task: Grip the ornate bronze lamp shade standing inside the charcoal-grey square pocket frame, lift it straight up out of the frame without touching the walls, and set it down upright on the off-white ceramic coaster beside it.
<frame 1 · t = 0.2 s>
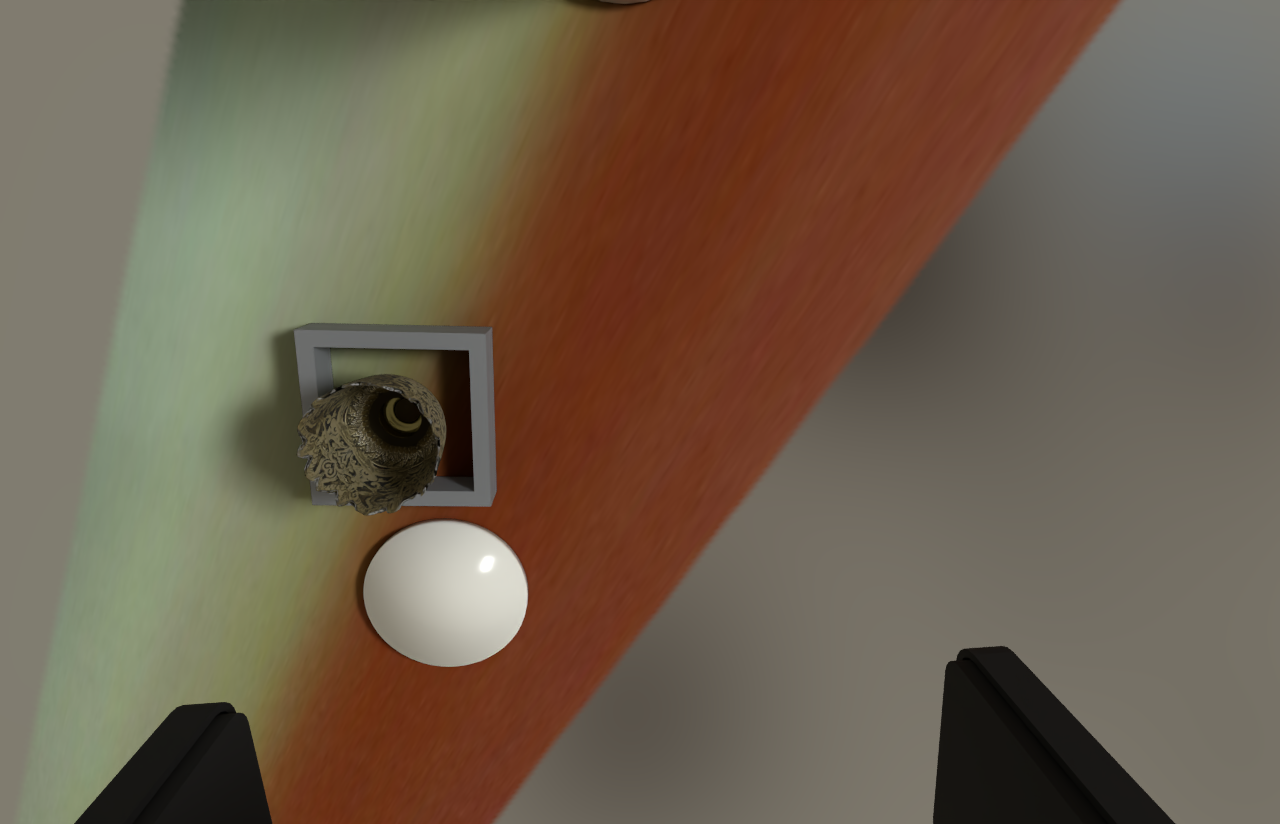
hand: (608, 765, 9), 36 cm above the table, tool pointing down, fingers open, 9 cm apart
pocket frame: (407, 410, 45), on the table
ornate bronze lamp shade: (408, 409, 45), on the table
coaster: (448, 591, 49), on the table
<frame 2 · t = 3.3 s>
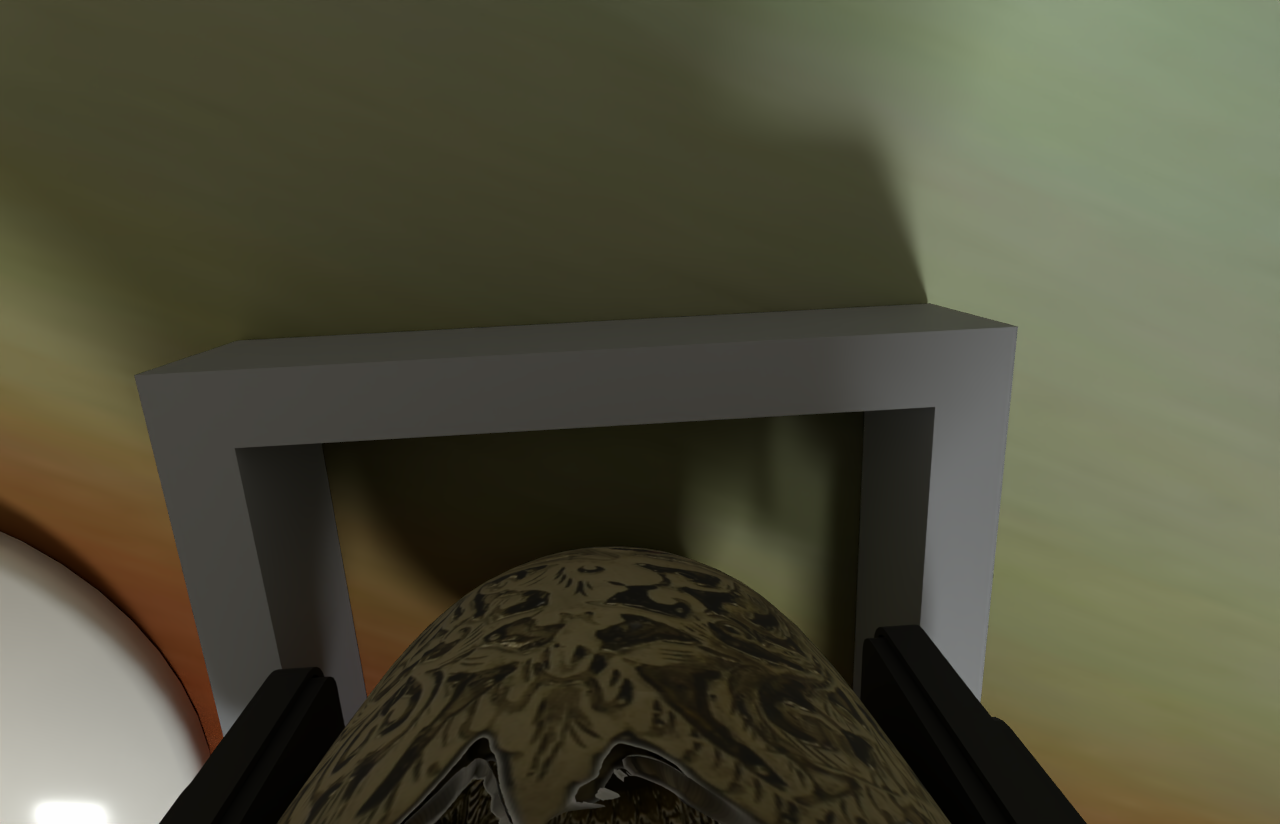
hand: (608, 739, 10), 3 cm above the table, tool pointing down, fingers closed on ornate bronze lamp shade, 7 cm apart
pocket frame: (609, 625, 13), on the table
ornate bronze lamp shade: (609, 618, 13), on the table, touching gripper
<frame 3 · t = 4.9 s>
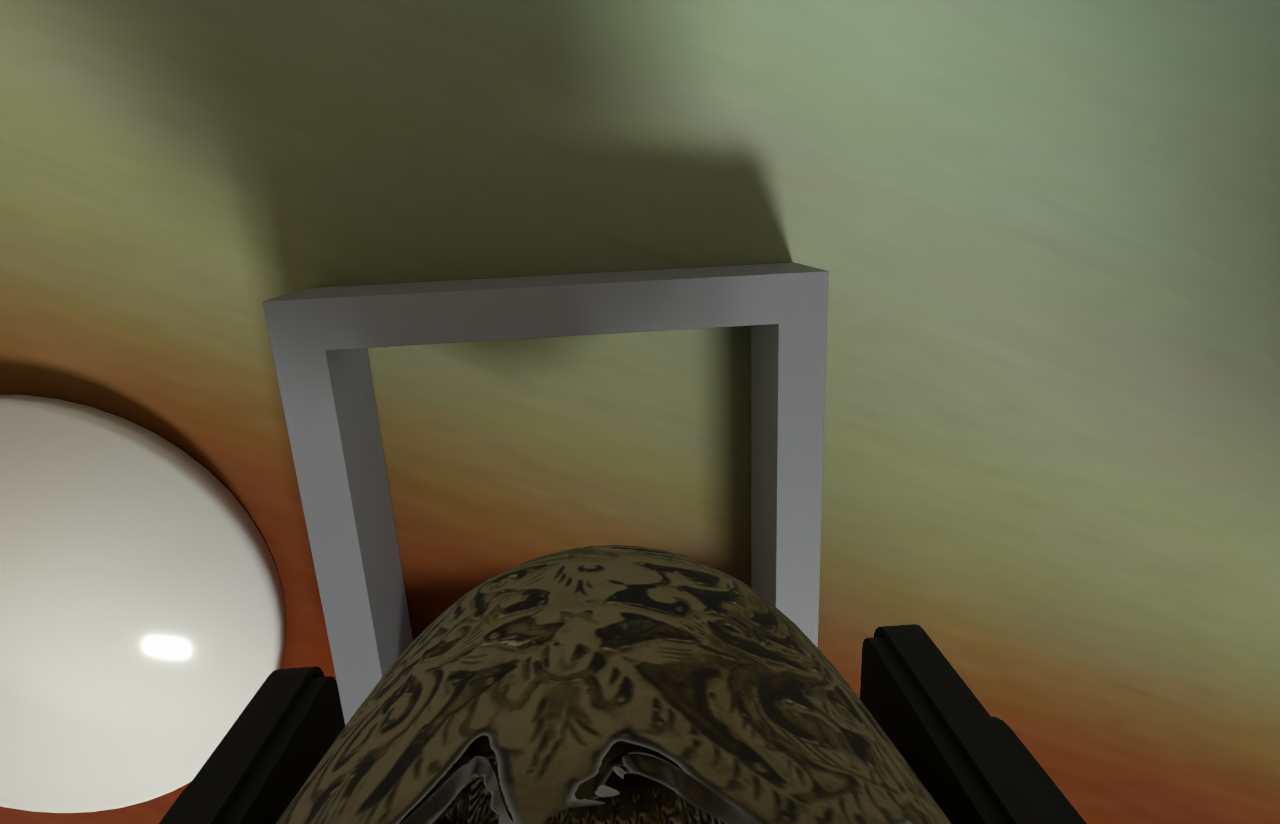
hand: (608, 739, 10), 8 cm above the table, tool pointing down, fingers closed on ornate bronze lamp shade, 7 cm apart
pocket frame: (574, 496, 18), on the table
ornate bronze lamp shade: (609, 617, 13), point 5 cm above the table, touching gripper
coaster: (56, 608, 17), on the table
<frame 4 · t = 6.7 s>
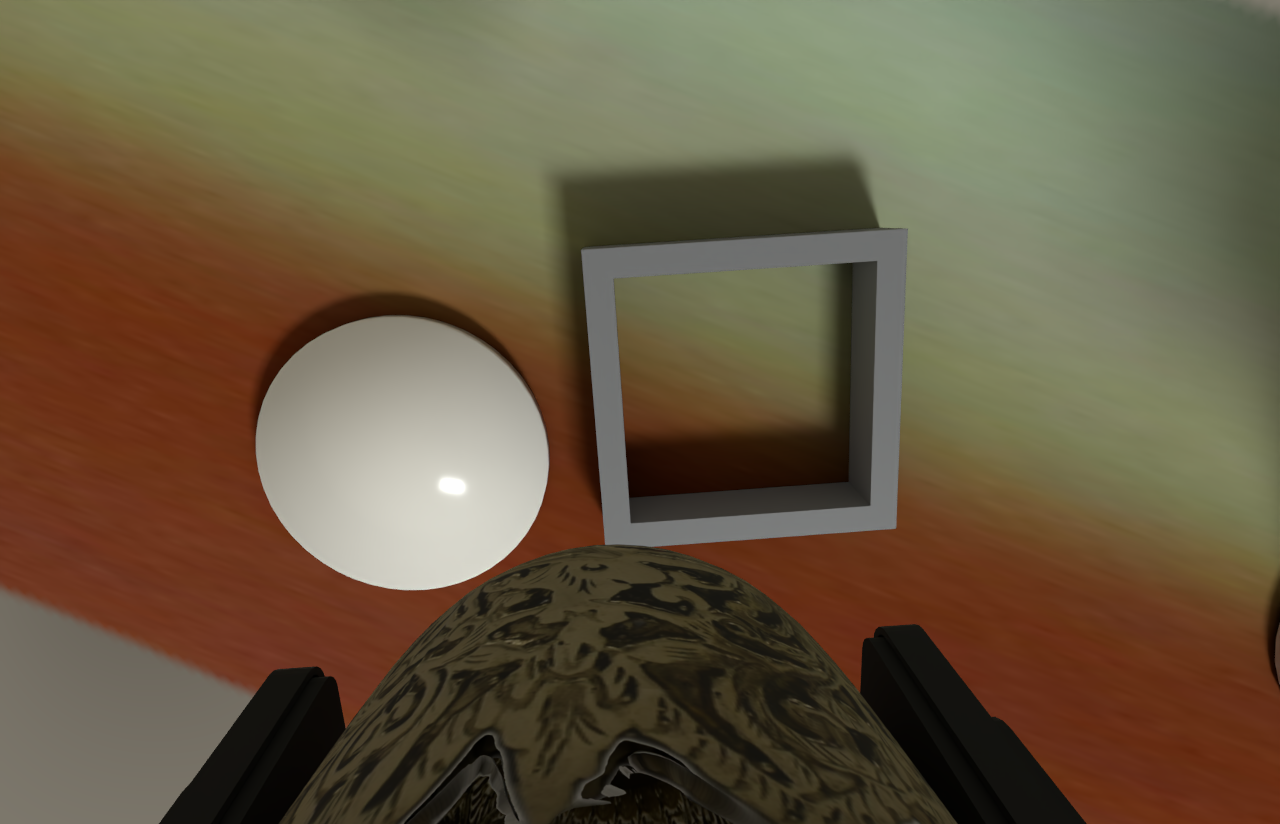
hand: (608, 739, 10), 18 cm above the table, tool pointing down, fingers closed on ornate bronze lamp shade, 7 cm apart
pocket frame: (736, 382, 27), on the table
ornate bronze lamp shade: (611, 617, 13), point 15 cm above the table, touching gripper
coaster: (409, 454, 28), on the table
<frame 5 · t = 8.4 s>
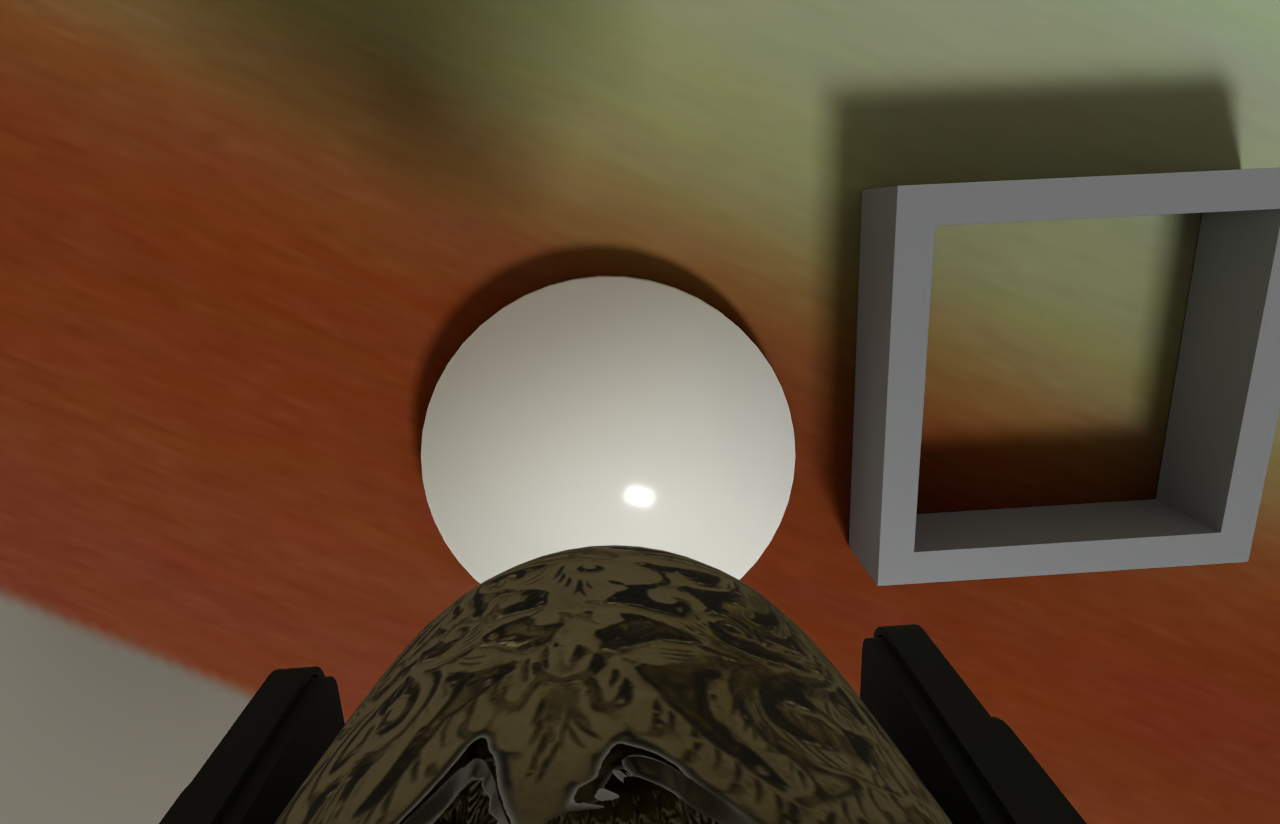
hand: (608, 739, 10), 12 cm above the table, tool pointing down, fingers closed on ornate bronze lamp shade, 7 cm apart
pocket frame: (1033, 370, 21), on the table
ornate bronze lamp shade: (609, 618, 13), point 9 cm above the table, touching gripper
coaster: (610, 457, 21), on the table
when the fingers open (5 cm above the table, at t = 10.2 s): ornate bronze lamp shade drops 1 cm, resting on coaster.
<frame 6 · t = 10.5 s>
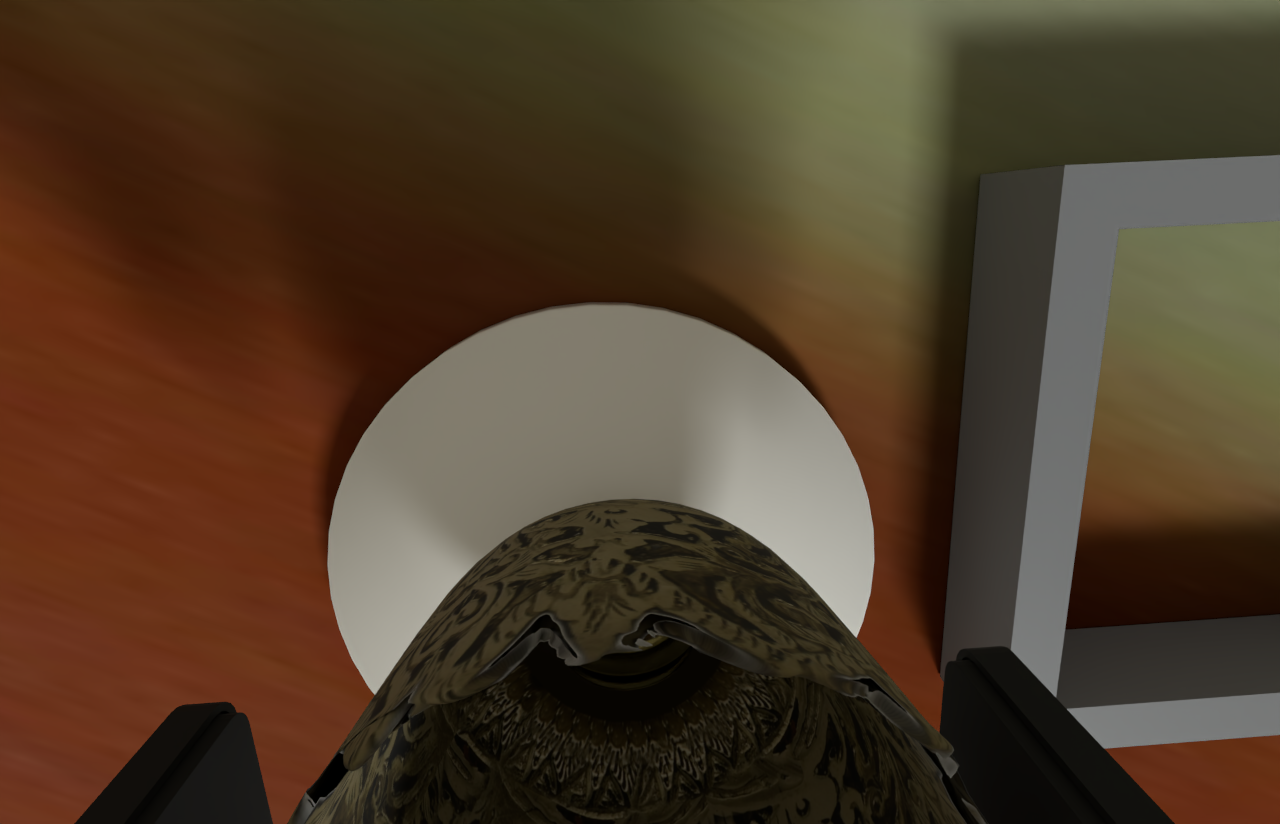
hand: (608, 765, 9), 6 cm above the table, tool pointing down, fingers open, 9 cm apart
pocket frame: (1212, 435, 15), on the table
ornate bronze lamp shade: (622, 574, 14), point 1 cm above the table, touching coaster
coaster: (606, 560, 15), on the table
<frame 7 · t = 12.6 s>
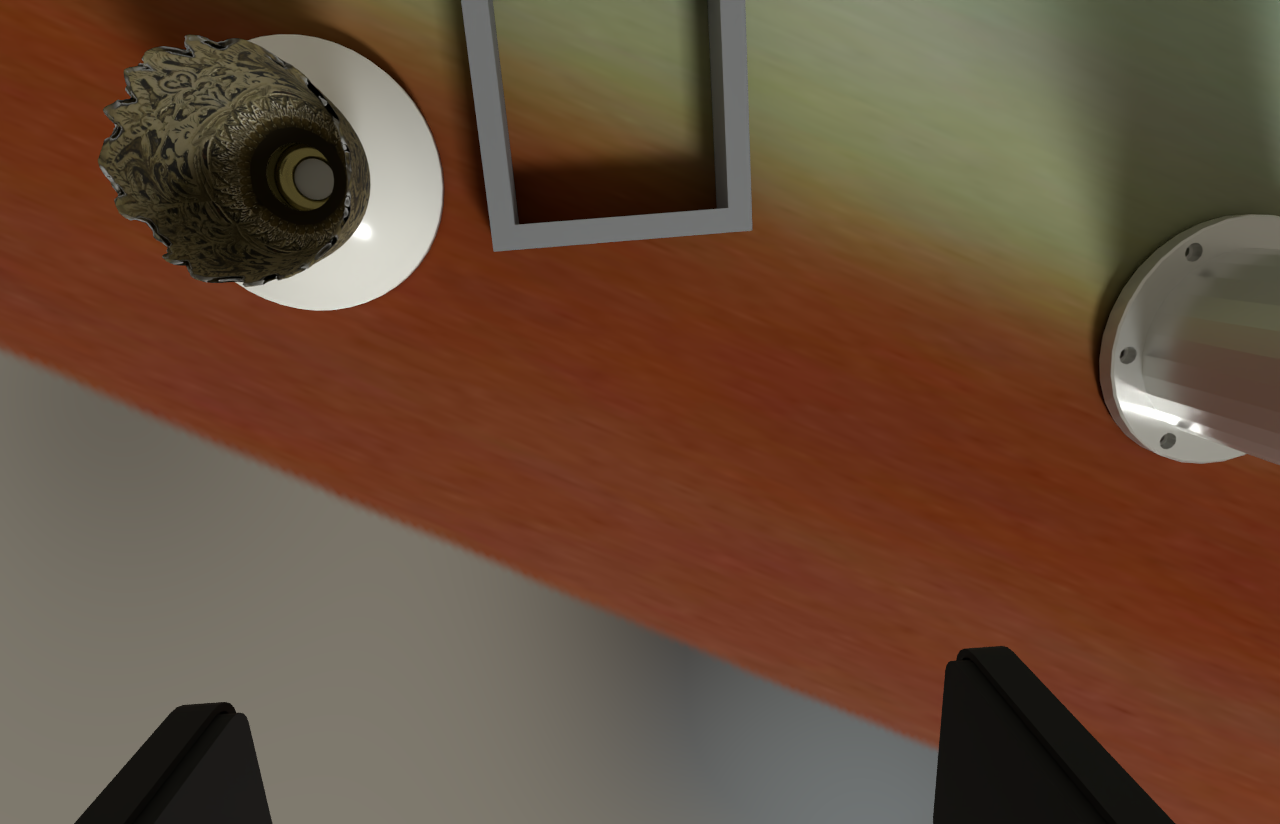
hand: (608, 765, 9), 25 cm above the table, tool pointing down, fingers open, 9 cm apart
pocket frame: (610, 109, 31), on the table
ornate bronze lamp shade: (316, 179, 30), point 1 cm above the table, touching coaster
coaster: (313, 180, 30), on the table
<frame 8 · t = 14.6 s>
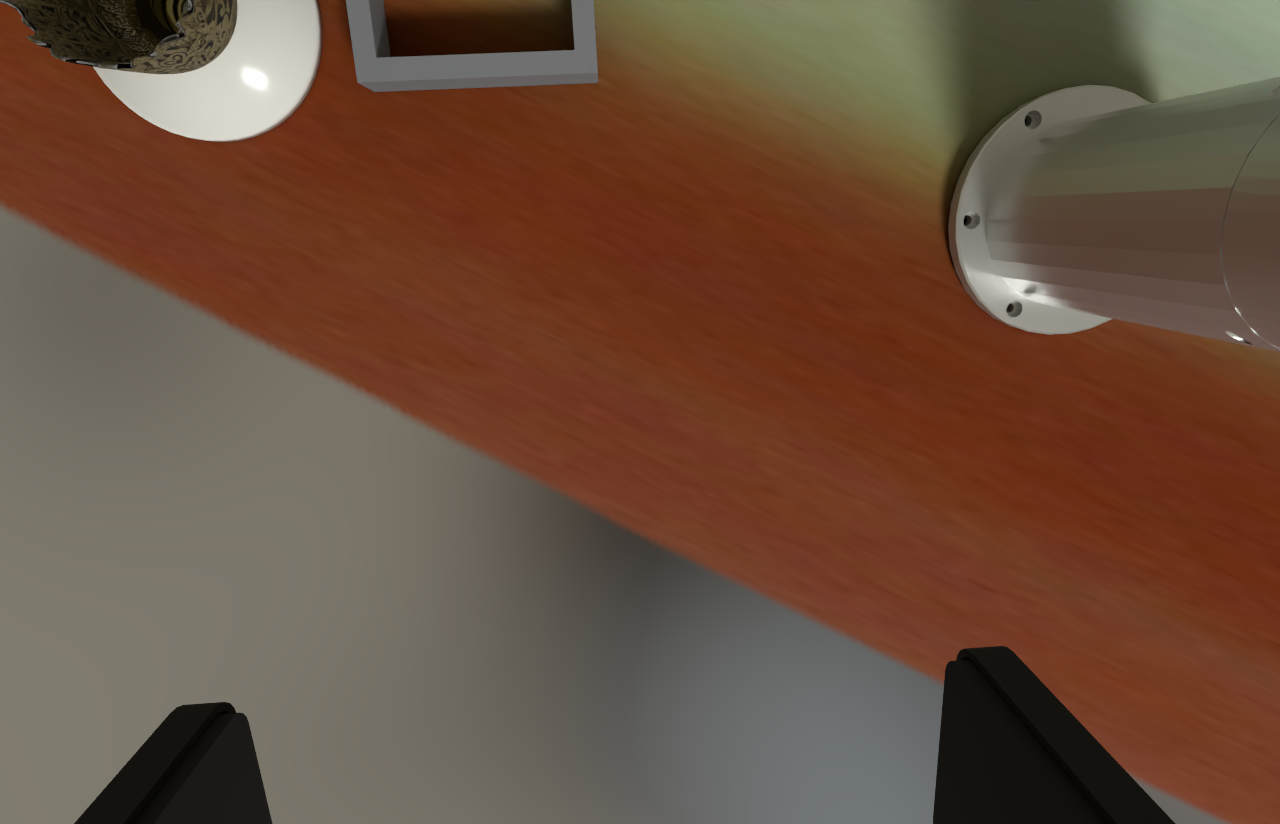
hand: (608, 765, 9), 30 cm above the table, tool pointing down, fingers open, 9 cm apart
ornate bronze lamp shade: (204, 15, 33), point 1 cm above the table, touching coaster
coaster: (203, 18, 33), on the table
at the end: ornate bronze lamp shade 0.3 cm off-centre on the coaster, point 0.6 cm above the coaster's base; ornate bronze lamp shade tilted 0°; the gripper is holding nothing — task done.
